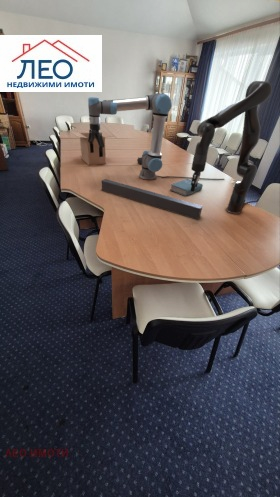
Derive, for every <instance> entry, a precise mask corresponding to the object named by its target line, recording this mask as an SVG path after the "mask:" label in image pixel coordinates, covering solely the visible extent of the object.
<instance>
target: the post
mask: <svg viewBox="0 0 280 497" xmlns="http://www.w3.org/2000/svg"><path fill="white" fill-rule="evenodd" d="M100 183H101V191H102V192H104V193H105V192H106V193H109V194H112V195H116V196H118V197H121V198H126V199H129V200H132V201H135V202H138V203H142V204H145V205H149V206H150V207H155V208H158V209H162V210H164V211H167V212H171V213H174V214H177V215H181V216H184V217H188V218H191V219H193V220H199V218H200V217H201V214H202V210H203V205H200V204H197V203H194V202H190V201H186V200H183V199H179V198H175V197H171V196H168V195H164V194H161V193H158V192H154V191H151V190H147V189H143V188H140V187H135V186H132V185H129V184H125V183H122V182H117V181H115V180H111V179H108V178H104V179H102V180H101V181H100Z"/></svg>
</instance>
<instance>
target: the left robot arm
mask: <svg viewBox="0 0 280 497" xmlns="http://www.w3.org/2000/svg"><path fill="white" fill-rule="evenodd" d="M87 104H88V105H87V106H88V121H89V129H88V131H89V137H88V142H89V143H90V153H94V147H93V144H92V143H93V141H94V138H96V139H97V142H98V145H99V157H103V147H104V142H103V138H102V133H101V132H102V131H100V130H101V115H113V116H115V115H117V113H118V112H126V111H136V110H137V111H138V110H145V111H152V116H153V124H152V133H151V140H150V147H149V150H143V152H142V155H143V158H142V164H141V169H140V170H139V178H140V179H142V180H146V181H154V180H156V178H161V179H166V178H174V176H161V175H157V174H156V173H157V172H159V171H160V170H161V169H162V167H163V160H162V158H163V154H162V153H161V151H162V145H163V138H164V131H165V124H166V119H167V118H168V117H169V113H170V111H171V109H172V106H173V105H172V104H173V102H172V98H171V96H169V95H168V94H166V93H159V92H158V93H153V94H146V95H145V96H142V97H129V98H118V99H117V98H116V99H103V100H100V98H99V97H97V96H96V97H94V96H89V97H88V98H87ZM175 178H177V179H178V178H180V179H191V177H187V176H175ZM199 180H206V177H205V178H204V177H203V178H202V177H200V179H199ZM208 180H209V181H210V180H213V181H225V178H208Z"/></svg>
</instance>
